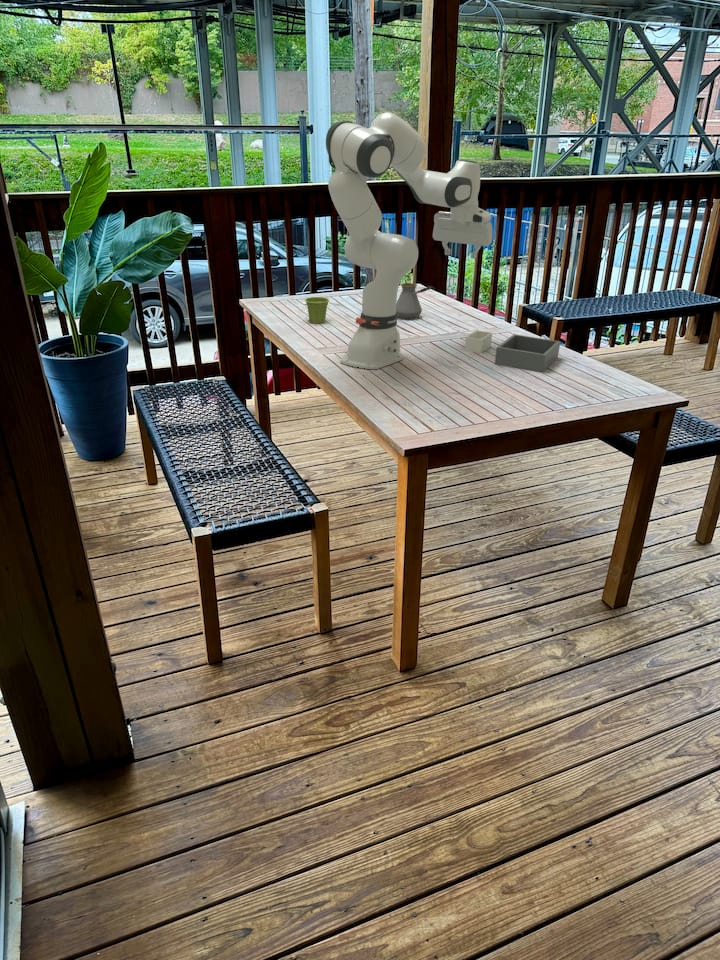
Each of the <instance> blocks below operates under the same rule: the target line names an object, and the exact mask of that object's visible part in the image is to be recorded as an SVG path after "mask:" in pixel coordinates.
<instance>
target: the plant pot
mask: <svg viewBox="0 0 720 960" xmlns="http://www.w3.org/2000/svg"><path fill="white" fill-rule="evenodd" d="M304 302H305V304H306V306H307V313H308V314H307V315H308V319H309V322H310V323H311V324H318V323H319V324H324V323H325V322H326V318H327V317H326V316H327V310H328V309H327V308H328V305H329V304H328V303H329V302H330V298H328V297H323V296H313V297H312V296H311V297H307V298H305V299H304Z"/></svg>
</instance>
